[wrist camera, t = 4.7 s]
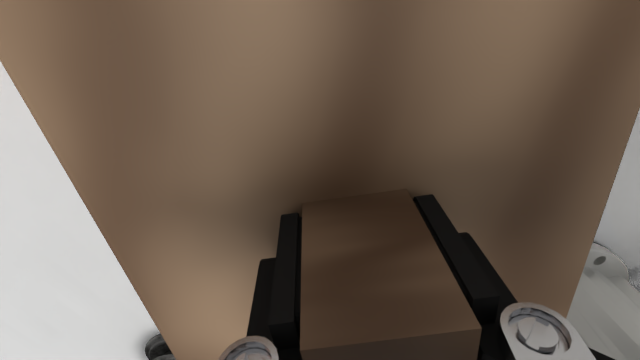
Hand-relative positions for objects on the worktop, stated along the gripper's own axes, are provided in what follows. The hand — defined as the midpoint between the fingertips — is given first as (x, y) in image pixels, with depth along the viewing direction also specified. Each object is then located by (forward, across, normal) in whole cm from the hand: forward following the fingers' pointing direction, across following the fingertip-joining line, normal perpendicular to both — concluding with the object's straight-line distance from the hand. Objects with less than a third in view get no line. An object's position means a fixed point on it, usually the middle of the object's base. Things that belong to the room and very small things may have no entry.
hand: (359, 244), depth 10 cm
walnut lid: (+2, 0, 0) cm, 2 cm away
